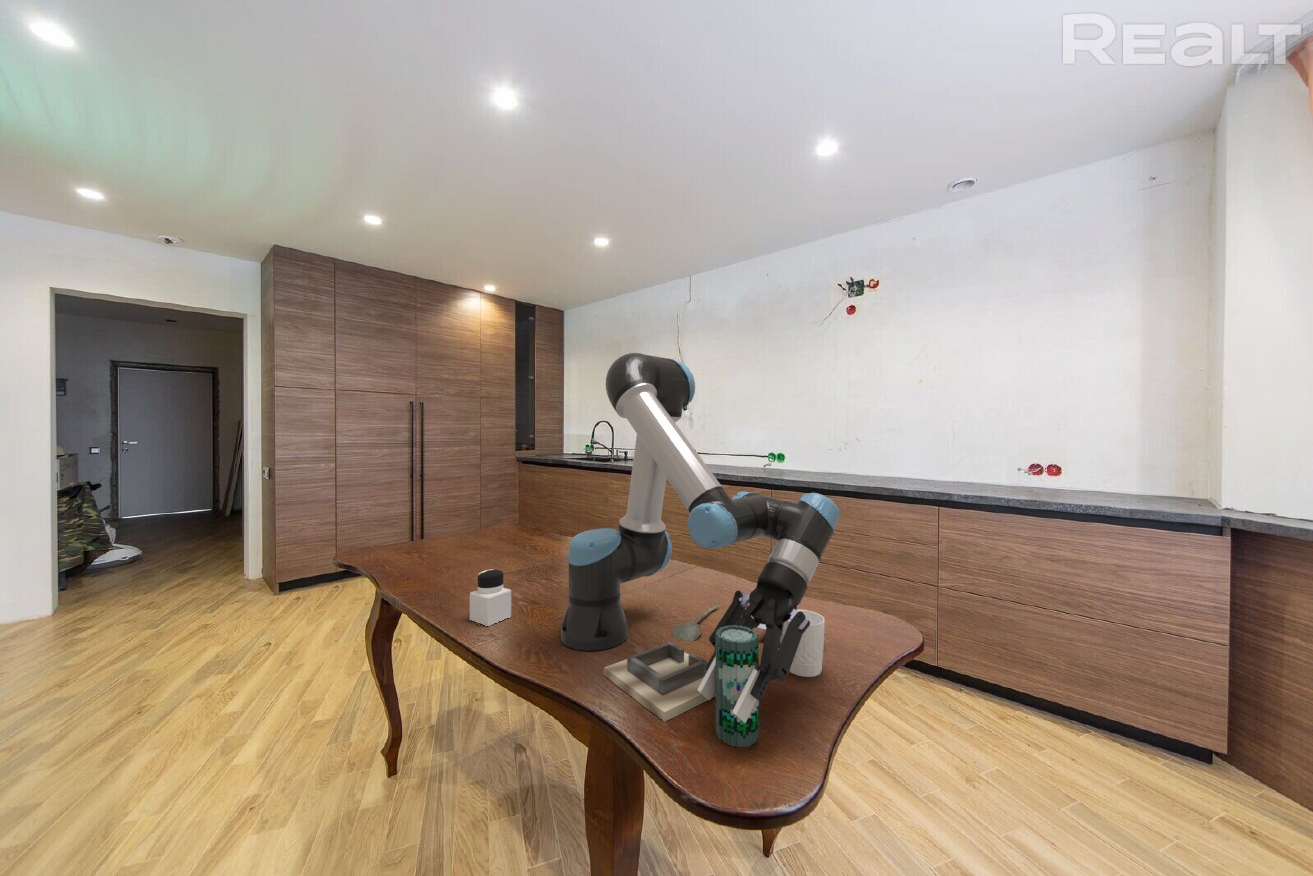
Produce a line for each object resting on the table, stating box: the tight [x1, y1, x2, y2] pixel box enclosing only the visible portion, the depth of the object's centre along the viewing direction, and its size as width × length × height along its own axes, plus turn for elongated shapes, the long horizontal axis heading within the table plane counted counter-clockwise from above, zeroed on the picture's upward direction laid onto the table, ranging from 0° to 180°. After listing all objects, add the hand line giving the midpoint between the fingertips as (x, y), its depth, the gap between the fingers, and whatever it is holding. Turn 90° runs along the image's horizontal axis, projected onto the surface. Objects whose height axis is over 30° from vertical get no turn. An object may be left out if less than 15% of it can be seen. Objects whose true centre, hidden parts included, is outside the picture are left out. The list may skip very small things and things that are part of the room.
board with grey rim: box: [603, 641, 716, 723], centre depth 82 cm, size 18×16×4 cm
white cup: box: [783, 608, 826, 678], centre depth 87 cm, size 8×8×10 cm
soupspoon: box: [671, 604, 721, 643], centre depth 109 cm, size 22×3×7 cm
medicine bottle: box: [469, 568, 512, 627], centre depth 112 cm, size 7×7×12 cm
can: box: [714, 625, 760, 748], centre depth 68 cm, size 6×6×15 cm
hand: (720, 705), depth 65 cm, fingers closed on can, 6 cm apart
